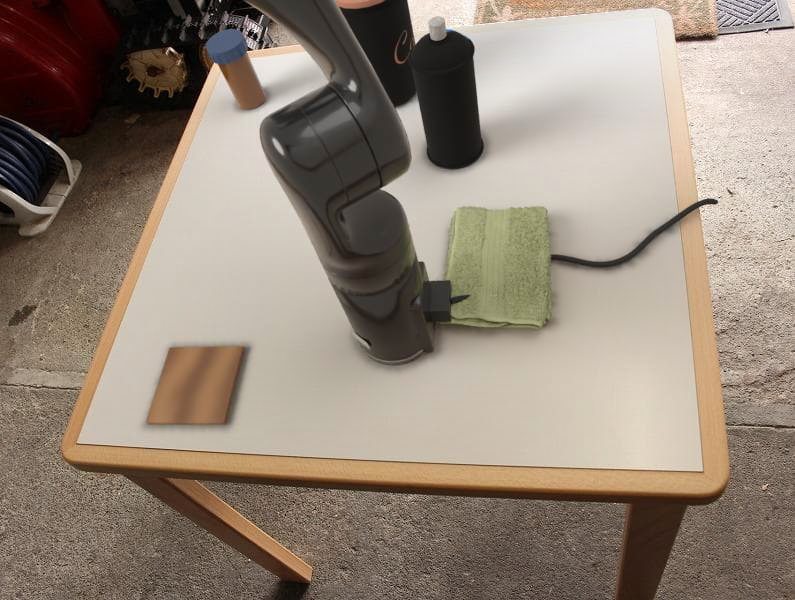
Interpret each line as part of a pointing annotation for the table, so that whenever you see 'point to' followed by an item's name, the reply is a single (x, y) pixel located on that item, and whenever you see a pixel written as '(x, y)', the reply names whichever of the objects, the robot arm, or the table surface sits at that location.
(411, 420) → the table surface
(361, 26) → the coffee jar
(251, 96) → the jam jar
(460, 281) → the washcloth
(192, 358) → the mat
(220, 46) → the jar lid
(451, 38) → the aerosol can
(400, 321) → the robot arm
